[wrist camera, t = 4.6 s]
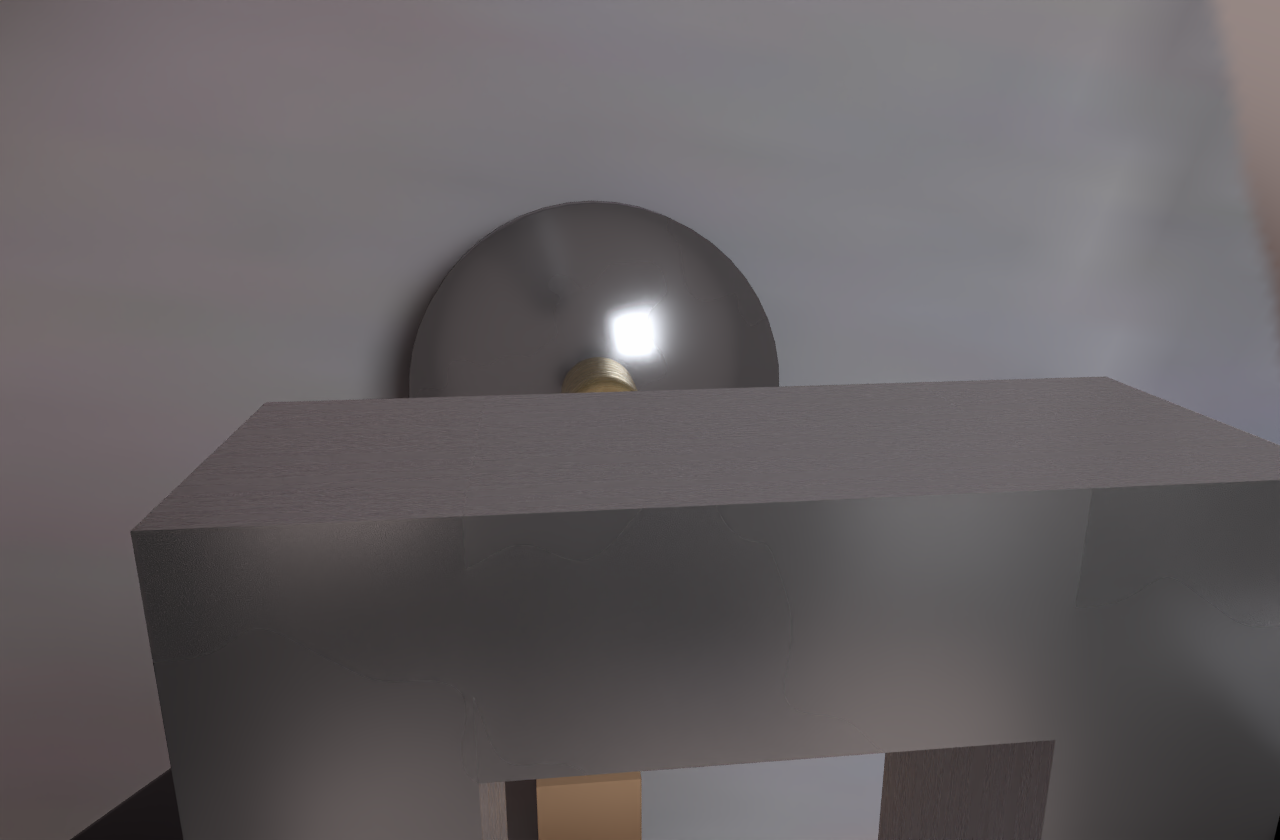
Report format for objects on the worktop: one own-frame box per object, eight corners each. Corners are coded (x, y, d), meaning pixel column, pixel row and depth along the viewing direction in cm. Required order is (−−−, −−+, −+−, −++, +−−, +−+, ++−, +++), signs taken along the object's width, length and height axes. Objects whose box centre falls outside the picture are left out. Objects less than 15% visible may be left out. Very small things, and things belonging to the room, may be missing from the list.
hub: (759, 534, 23) (816, 628, 18) (427, 550, 22) (401, 653, 17) (772, 199, 20) (840, 212, 16) (402, 202, 19) (364, 216, 15)
